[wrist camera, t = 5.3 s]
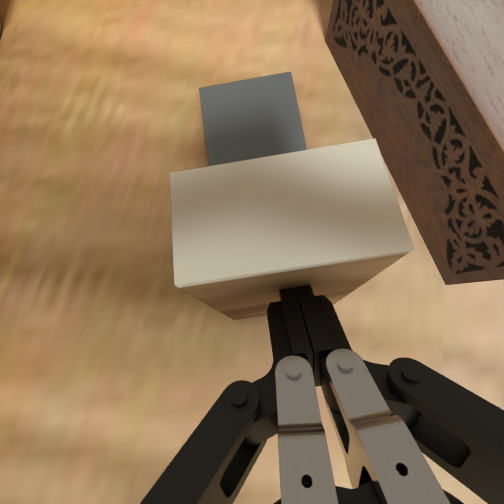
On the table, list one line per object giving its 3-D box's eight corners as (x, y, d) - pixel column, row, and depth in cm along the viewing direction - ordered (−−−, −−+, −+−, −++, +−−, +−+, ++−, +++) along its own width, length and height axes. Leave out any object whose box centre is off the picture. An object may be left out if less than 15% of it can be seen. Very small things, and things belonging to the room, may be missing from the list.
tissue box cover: (324, 43, 28) (354, -99, 18) (459, -5, 28) (562, -174, 18) (443, 285, 23) (575, 272, 13) (607, 226, 23) (861, 168, 13)
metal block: (331, 305, 22) (413, 248, 9) (234, 319, 22) (174, 285, 9) (319, 253, 24) (375, 138, 10) (228, 267, 24) (169, 172, 11)
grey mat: (321, 232, 24) (322, 231, 23) (220, 248, 24) (219, 247, 24) (290, 76, 27) (290, 71, 26) (200, 92, 27) (199, 88, 27)
